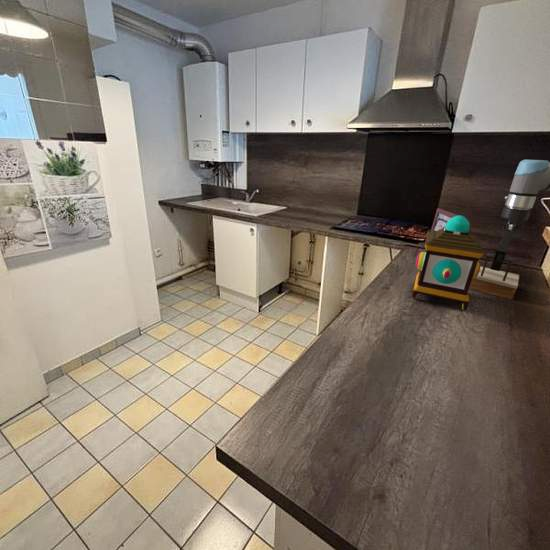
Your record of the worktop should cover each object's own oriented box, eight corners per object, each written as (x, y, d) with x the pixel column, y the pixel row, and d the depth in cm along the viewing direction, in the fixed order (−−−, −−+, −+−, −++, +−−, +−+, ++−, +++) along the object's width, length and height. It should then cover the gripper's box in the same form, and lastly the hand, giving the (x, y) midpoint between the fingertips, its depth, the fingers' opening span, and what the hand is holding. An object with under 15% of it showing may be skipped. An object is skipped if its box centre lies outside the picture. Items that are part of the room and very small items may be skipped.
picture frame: (423, 257, 149) (435, 208, 139) (442, 258, 148) (456, 208, 138) (439, 269, 133) (453, 215, 123) (460, 270, 133) (477, 216, 123)
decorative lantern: (406, 299, 105) (426, 216, 93) (411, 280, 121) (428, 207, 109) (471, 314, 97) (501, 225, 85) (467, 291, 113) (492, 214, 101)
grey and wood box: (516, 288, 105) (527, 262, 101) (467, 276, 114) (474, 252, 110) (518, 276, 115) (527, 253, 111) (472, 266, 124) (479, 244, 120)
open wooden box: (512, 299, 107) (516, 288, 105) (463, 287, 116) (467, 276, 114) (513, 288, 117) (518, 277, 115) (469, 277, 126) (472, 267, 124)
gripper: (506, 202, 111) (488, 254, 120) (501, 210, 93) (480, 271, 102) (531, 205, 107) (510, 259, 115) (531, 214, 89) (506, 277, 97)
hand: (496, 265), depth 109 cm, fingers open, 13 cm apart
